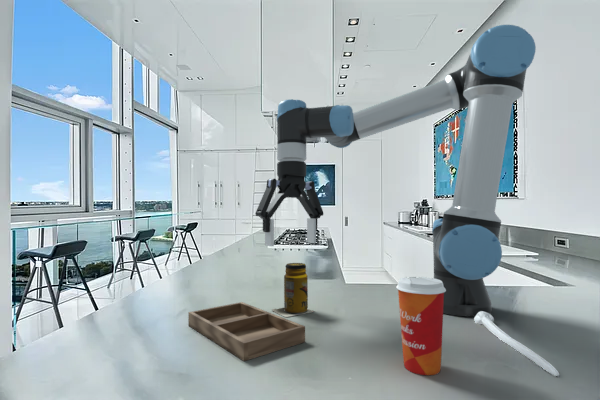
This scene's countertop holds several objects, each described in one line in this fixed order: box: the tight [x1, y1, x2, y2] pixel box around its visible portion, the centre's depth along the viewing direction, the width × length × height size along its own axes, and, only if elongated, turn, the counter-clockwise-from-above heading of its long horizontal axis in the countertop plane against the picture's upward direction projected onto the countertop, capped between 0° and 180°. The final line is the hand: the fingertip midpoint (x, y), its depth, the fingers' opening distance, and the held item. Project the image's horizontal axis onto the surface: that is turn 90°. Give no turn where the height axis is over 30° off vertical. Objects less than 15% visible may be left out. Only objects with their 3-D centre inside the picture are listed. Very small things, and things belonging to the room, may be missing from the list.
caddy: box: [187, 301, 306, 362], centre depth 73 cm, size 24×14×3 cm, turn 39°
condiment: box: [271, 262, 315, 318], centre depth 90 cm, size 7×8×12 cm
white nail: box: [473, 311, 560, 377], centre depth 67 cm, size 28×4×3 cm, turn 177°
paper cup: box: [395, 276, 446, 376], centre depth 57 cm, size 8×8×14 cm
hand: (291, 244), depth 90 cm, fingers open, 13 cm apart
